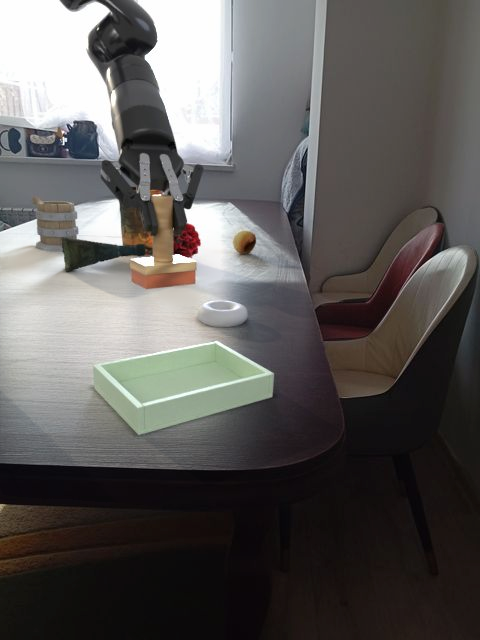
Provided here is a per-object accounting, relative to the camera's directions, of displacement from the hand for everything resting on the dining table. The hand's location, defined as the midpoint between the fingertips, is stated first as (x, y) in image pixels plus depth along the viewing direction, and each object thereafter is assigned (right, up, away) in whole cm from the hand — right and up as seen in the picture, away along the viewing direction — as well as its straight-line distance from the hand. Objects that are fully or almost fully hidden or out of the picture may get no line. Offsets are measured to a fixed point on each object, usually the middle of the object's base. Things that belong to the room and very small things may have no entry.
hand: (167, 231), depth 63 cm
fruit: (+5, +17, +107) cm, 108 cm away
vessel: (-27, +16, +100) cm, 105 cm away
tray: (+1, -21, +7) cm, 22 cm away
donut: (+4, -9, +38) cm, 40 cm away
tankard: (-56, +19, +104) cm, 120 cm away
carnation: (-23, +6, +75) cm, 79 cm away
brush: (-1, -6, +4) cm, 7 cm away
